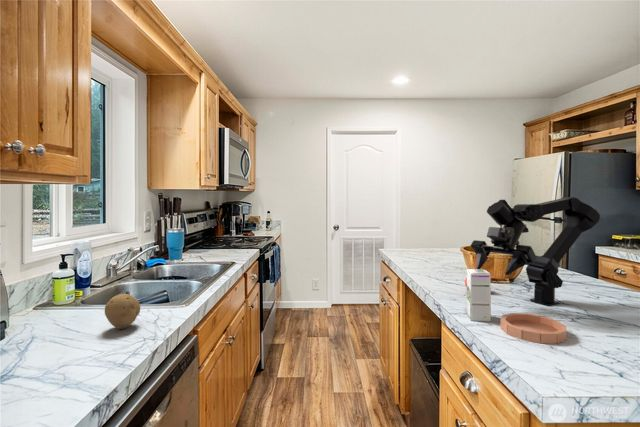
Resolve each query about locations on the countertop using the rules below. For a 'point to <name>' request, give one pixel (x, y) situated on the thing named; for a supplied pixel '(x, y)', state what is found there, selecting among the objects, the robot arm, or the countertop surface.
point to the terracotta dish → (534, 328)
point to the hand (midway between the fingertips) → (491, 271)
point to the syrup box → (478, 295)
